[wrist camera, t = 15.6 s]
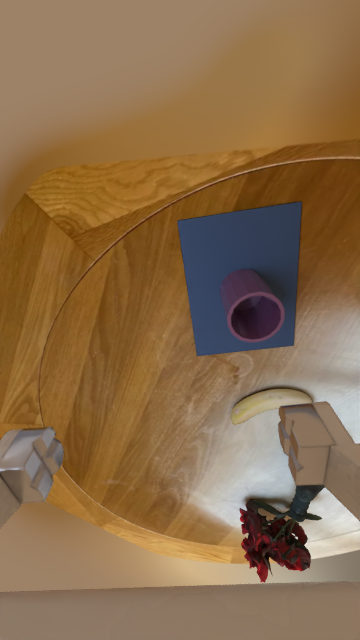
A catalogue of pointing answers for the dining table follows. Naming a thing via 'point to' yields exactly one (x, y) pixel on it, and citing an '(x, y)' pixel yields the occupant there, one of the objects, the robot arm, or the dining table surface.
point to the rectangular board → (240, 253)
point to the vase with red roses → (278, 533)
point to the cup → (250, 306)
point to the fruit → (266, 403)
